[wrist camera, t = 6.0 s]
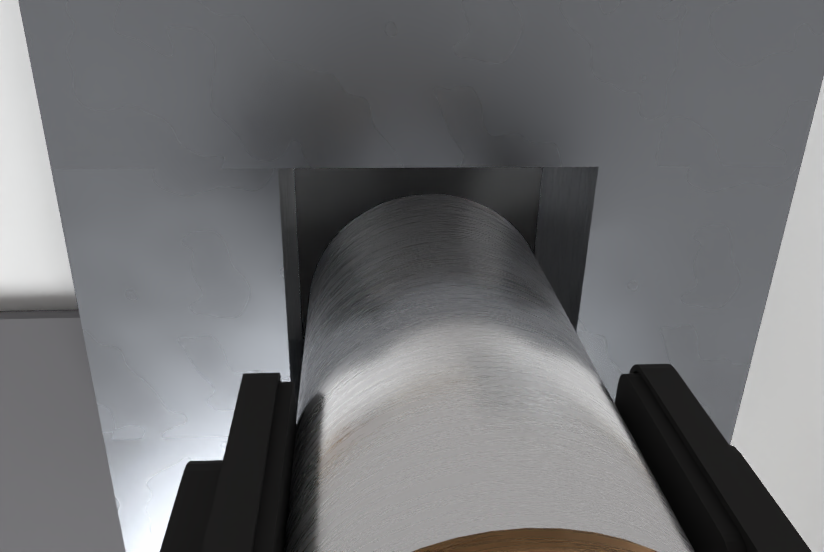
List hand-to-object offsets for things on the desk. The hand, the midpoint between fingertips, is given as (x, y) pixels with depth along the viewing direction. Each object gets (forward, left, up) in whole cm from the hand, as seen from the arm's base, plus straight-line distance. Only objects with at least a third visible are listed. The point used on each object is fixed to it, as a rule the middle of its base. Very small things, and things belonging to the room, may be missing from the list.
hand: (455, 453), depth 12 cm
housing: (0, 0, -8) cm, 8 cm away
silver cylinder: (0, 0, -5) cm, 5 cm away
